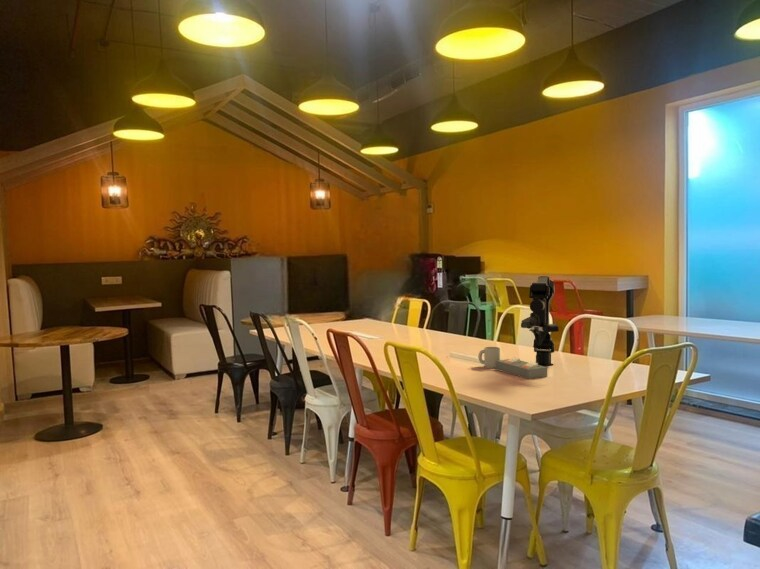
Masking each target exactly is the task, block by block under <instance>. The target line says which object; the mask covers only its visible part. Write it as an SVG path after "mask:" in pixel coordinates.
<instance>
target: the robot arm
mask: <svg viewBox="0 0 760 569" xmlns="http://www.w3.org/2000/svg"><path fill="white" fill-rule="evenodd" d="M555 291H556V288H555V282H554V281H552V280H551V278H550V276H548V275H540V276H538V278H537V281H534V282H532V283H531V284H530V286H529V297H528V298H529V299H532V301H531V302H530V303H529V309H530V311H531V312H530V314H529V316H528V317H525V318H524V319H522V320H521V322H520V328H522V329H529V331H530V332H531V333H533V336H534V339H533V351H534V352H533V353H535V354H536V355H535V363H538V365H540V366H544V367H547V366H553V365H554V363H553V362H552V354H553V353H555V343H554V341H553V339H552V335H551V334H550V333H554V332H559V331H560V328H559V327H560V326H558V325H557V324H554V323H550V321H549V320H550V303H551V301H552V300H553V298H554V294H555V293H556V292H555Z"/></svg>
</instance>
